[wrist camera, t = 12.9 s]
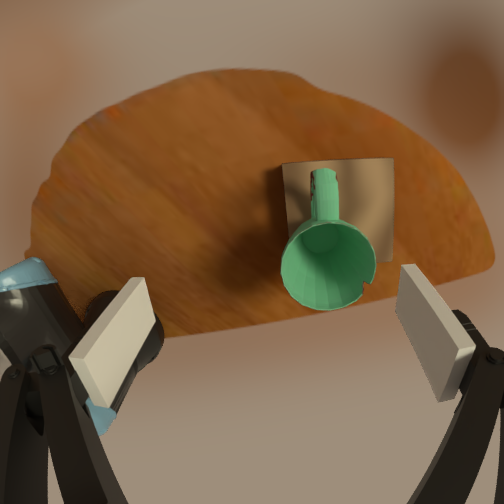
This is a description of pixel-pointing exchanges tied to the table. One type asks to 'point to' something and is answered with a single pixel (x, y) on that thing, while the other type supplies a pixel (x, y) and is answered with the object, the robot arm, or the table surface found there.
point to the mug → (327, 252)
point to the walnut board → (348, 197)
